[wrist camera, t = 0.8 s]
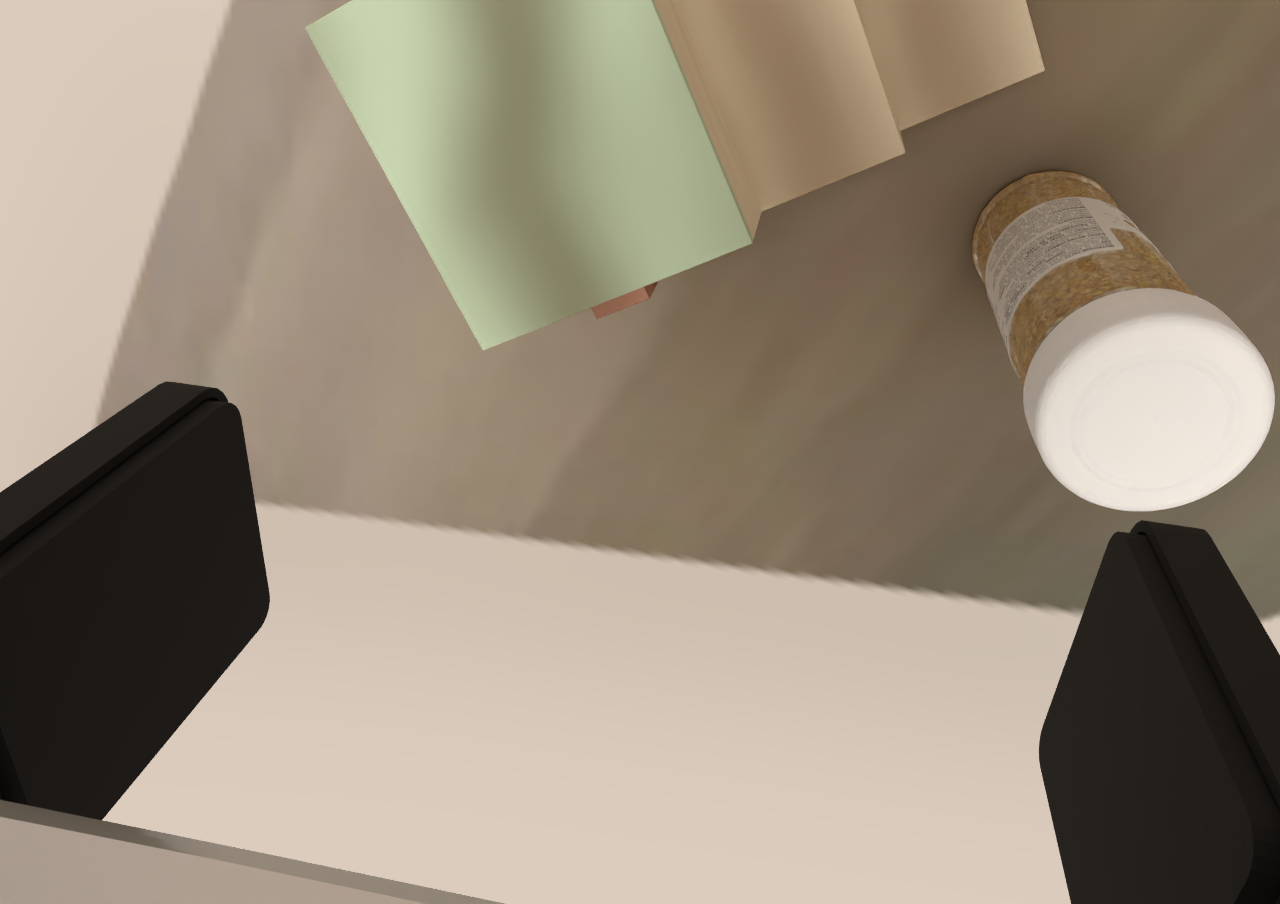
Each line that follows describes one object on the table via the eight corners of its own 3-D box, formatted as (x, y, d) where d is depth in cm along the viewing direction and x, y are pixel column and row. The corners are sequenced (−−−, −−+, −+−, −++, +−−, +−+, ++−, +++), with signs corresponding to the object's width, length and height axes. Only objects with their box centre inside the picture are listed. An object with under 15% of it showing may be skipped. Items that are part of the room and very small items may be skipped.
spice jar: (1138, 268, 31) (1309, 475, 20) (997, 326, 33) (1078, 547, 21) (1091, 138, 30) (1246, 279, 18) (946, 206, 31) (1003, 374, 20)
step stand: (933, -278, 26) (971, -361, 18) (1032, 73, 29) (1098, 129, 21) (438, 0, 31) (304, 27, 24) (570, 266, 35) (491, 366, 27)
